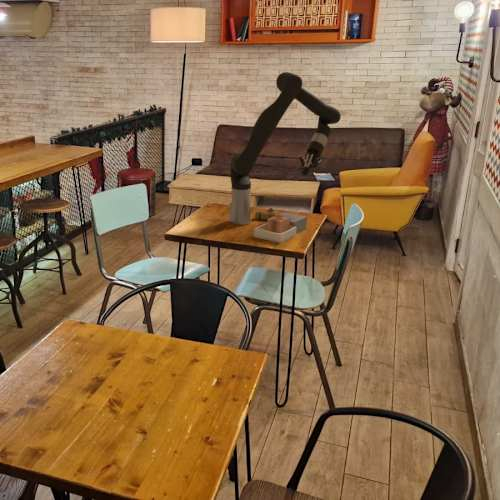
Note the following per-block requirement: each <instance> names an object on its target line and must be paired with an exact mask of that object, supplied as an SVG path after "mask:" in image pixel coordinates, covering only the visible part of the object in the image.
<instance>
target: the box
mask: <svg viewBox="0 0 500 500" xmlns="http://www.w3.org/2000/svg"><path fill="white" fill-rule="evenodd" d="M296 229H297V227H294V226H289V230H287V231H285V232H283V233H281V234H279V233H274V232H270V231H267V222H266V223H263V224H261V225H260V226H257V227H254V228H253V237H254V238H256V239H259V240H260V239H261V240H265V241H268V242H269V241H270V242H273V243H277V244H282V243H284V242H286V241H288V240H291V239H292V238H294V237H296V236H297V234H296Z"/></svg>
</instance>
